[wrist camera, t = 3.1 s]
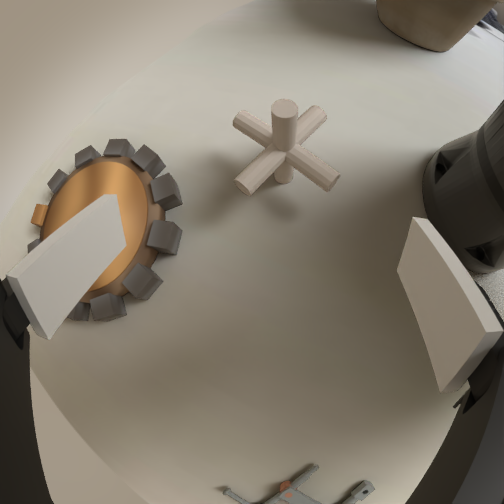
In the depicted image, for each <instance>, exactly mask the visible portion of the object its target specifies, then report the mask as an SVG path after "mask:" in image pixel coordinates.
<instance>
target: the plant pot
mask: <svg viewBox="0 0 504 504" xmlns="http://www.w3.org/2000/svg"><path fill="white" fill-rule="evenodd" d="M497 2H499V3H504V0H376V4H377V11H378V16H379V19H380V20H381V22H382V23H383V24H384V25H385V26H386V27H387V28H388V29H390V30H391V31H392V32H394V33H395V34H397V35H398V36H400V37H402V38H404V39H405V40H407V41H409V42H411V43H414V44H416V45H418V46H421V47H423V48H426V49H430V50H433V51H440V52H442V51H447V50H449V49H450V48H452V47H453V46H454V45H455V44H456V43H457V42H458V41H459V40H461V39H462V38H463V37H464V36H465V35H466V34H467V33H468V32H469V31H470V30H471V29H472V28H473V27H474V26H475V25H476V24H477V23H478V22H479V21H480V20H481V19H482V18H483V17H484V16H485V15H486V14H487V13H488V12H489V11H490V10H491V9H492V8H493V7H494V6H495V5H496V3H497Z"/></svg>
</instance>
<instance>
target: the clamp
mask: <svg viewBox="0 0 504 504" xmlns="http://www.w3.org/2000/svg"><path fill="white" fill-rule="evenodd" d="M318 468H319V466H318V465H316V464H315V465H314V466H313V467H312V468H311V469H310V470H308V471H306V472H304V473H303V474H302V475H300V476H299V477H298V478H297V479H296V480H294V481H293V482H291V481H285V482H283V483H281V485H280V492H279V493H277V494H276V495H275V496H273V497H272V498H271V499H269V500H268V501H266V502H265V503H263V504H276V503H277V502H278V501H280V500H281V499H283V500H285V501H287V502H288V503H290V504H321V503H319V502H318V501H316V500H314V499H312V498H310V497H308V496H307V495H305V494H303V493H301V492H300V491H298V490H297V487H298V486H300V485H301V484H302V483H303V482H305V481H306V480H307V479H308V478H310V476H311V475H312V473H314V472H315V471H316V470H317V469H318ZM374 490H375V488H374V487H373V485H372V484H371V483H370V482H368V481H364V482H362V483H361V484H360V485H359V486H358V487H357V488H356V489H354V490H353V491H352V492H351V494H352V495H351V496H350V497H349V498H348V499H347V500H345V501H344V502H343V503H342V504H354V503H355V502H357V501H358V500H361V501H362V500H363V499H364V498H366V497H367V496H368V495H369V494H370V493H371V492H373V491H374ZM223 495H229V496H230V497H232V498H233V499H235V500H236V501H238V502H240V503H241V504H250V503H248V502H247V501H245V500H244V499H242V498H240V497H239V496H237V495H236V494H234V493H232V492H231V491H230V488H226V489H225V490H224V491H223ZM260 504H261V503H260Z"/></svg>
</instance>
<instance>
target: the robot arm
mask: <svg viewBox="0 0 504 504" xmlns="http://www.w3.org/2000/svg"><path fill="white" fill-rule="evenodd" d="M423 198H424V204H425V208H426V212H427V215H428V218H429V220H428V219H424V218H417V217H412V221H411V225H410V229H409V232H408V236H407V239H406V242H405V246H404V249H403V252H402V255H401V259H400V262H399V265H398V268H397V273H398V275H399V277H400V280H401V282H402V284H403V287H404V289H405V291H406V294H407V296H408V299H409V301H410V304H411V306H412V309H413V312H414V314H415V317H416V319H417V322H418V325H419V328H420V330H421V333H422V336H423V339H424V342H425V345H426V348H427V351H428V354H429V357H430V360H431V363H432V367H433V370H434V373H435V377H436V380H437V384H438V387H439V391H440V393H446V392H453V391H458V390H459V389H460V388H461V387H462V385H463V384H464V383H465V382H466V381H467V380H468V382H469V385H470V388H469V389H468V391H467V392H466V393H465V394H464V395H463V396H462V397H461V398H460V399H459V400H458V401H457V402H456V403H455V405H454V406H453V408H456V407H457V406H458V405H459V404H461V405H460V407H459V410H458V412H457V414H456V417H455V419H454V421H453V423H452V425H451V427H450V430H449V432H448V434H447V436H446V438H445V440H444V442H443V443H442V445H441V447H440V449H439V451H438V453H437V455H436V456H435V458H434V460H433V462H432V463H431V465H430V467H429V468H428V470H427V472H426V473H425V475H424V477H423V478H422V480H421V481H420V483H419V484H418V486H417V487H416V489H415V490H414V492H413V493H412V495H411V496H410V498H409V499H408V500H407V502H406V503H405V504H504V322H503V320H502V318H501V317H500V315H499V313H498V311H497V310H496V309H495V306H494V305H493V303H492V302H491V301H490V298H489V297H488V295H487V294H486V292H485V291H484V289H483V288H482V287H481V286H480V285H479V284H477V283H476V282H475V281H474V280H473V279H472V277H471V276H470V275H469V273H468V272H467V270H466V269H468V270H471V271H473V272H477V273H490V272H494V271H497V270H500V269H503V268H504V100H503V101H502V103H501V104H500V105H499V106H498V108H497V109H496V110H495V111H494V112H493V114H492V115H491V116H490V117H489V118H488V120H487V121H486V122H485V123H484V124H483V126H482V127H481V128H480V129H479V130H478V131H475V132H473V133H470V134H468V135H466V136H463V137H461V138H458V139H456V140H454V141H451V142H449V143H447V144H445V145H444V146H443V147H441V148H440V149H439V150H438V151H437V153H436V154H435V155H434V156H433V157H432V159H431V160H430V161H429V163H428V165H427V167H426V170H425V173H424V178H423ZM429 221H430V222H429ZM126 246H127V245H126V241H125V236H124V231H123V226H122V221H121V216H120V210H119V205H118V199H117V194H104V195H102V196H101V197H100V198H98V199H97V200H95V201H94V202H93V203H91V204H90V205H88V206H87V207H86V208H84V209H83V210H82V211H80V212H79V213H78V214H76V215H75V216H74V217H72V218H71V219H70V220H68V221H67V222H66V223H65V224H63V225H62V226H61V227H60V228H58V229H57V230H56V231H55V232H53V233H52V234H51V235H50V236H48V237H47V238H46V239H45V240H44V241H42V242H41V243H40V244H39V245H38V246H37V247H35V248H34V249H33V250H32V251H31V252H30V253H29V254H27V255H26V256H25V257H24V258H23V259H22V260H21V261H20V262H19V263H18V264H17V265H15V266H14V267H13V268H12V269H11V270H10V271H9V272H8V273H7V274H6V278H5V279H4V280H3V281H1V279H0V504H54V503H53V501H52V499H51V497H50V494H49V491H48V487H47V484H46V480H45V476H44V472H43V468H42V464H41V459H40V455H39V450H38V445H37V439H36V433H35V427H34V418H33V410H32V400H31V388H30V359H29V349H30V335H29V332H28V330H27V329H26V328H27V326H28V325H29V324H31V326H32V327H33V329H34V331H35V332H36V334H37V335H39V336H41V337H43V338H46V339H48V340H50V339H51V337H52V336H53V334H54V333H55V332H56V330H57V329H58V328H59V326H60V325H61V324H62V322H63V321H64V320H65V318H66V317H67V316H68V314H69V313H70V312H71V311H72V309H73V308H74V307H75V305H76V304H77V303H78V302H79V300H80V299H81V298H82V297H83V295H84V294H85V293H86V292H87V291H88V289H89V288H90V287H91V286H92V285H93V283H94V282H95V281H96V280H97V279H98V277H99V276H100V275H101V274H102V273H103V272H104V270H105V269H106V268H107V267H108V266H109V265H110V263H111V262H112V261H113V260H114V259H115V258H116V257H117V256H118V254H119V253H120V252H121V251H122V250H123V249H124V248H125V247H126ZM465 268H466V269H465Z"/></svg>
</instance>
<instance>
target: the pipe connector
mask: <svg viewBox="0 0 504 504" xmlns="http://www.w3.org/2000/svg"><path fill="white" fill-rule="evenodd" d="M271 115H272V127H271V126H270V125H268V124H266V123H265V122H263V121H262V120H260V119H258V118H257V117H255V116H253V115H252V114H250V113H248V112H247V111H241V112H239V113H238V114H237V115H236V116H235V118H234V120H233V126H234V127H235V128H236V129H238V130H239V131H241V132H242V133H244V134H245V135H247V136H249V137H250V138H252V139H253V140H255V141H256V142H258V143H259V144H261V145H262V146H264V147H265V148H266V149H265V150H263V151H262V152H261V153H260V154H259V155H258V156H257V157H256V158H255V159H254V160H253V161H252V162H251V163H250V164H249V165H248V166H247V167H246V168H245V169H244V170H243V171H242V172H241V173H240V174H239V175H238V176H237V177H236V178H235V179H234V183H235V185H236V186H237V187H238V188H239V189H240V190H241V191H242V192H243V193H245V194H246V195H248V196H251V195H252V194H253V193H254V192H255V191H256V190H257V189H258V188H259V187H260V186H261V185H262V184H263V183H264V182H265V180H266V179H267V178H268V177H269V176H270V175H271V174H272V173H273V172H274V177H275V180H276V181H277V182H279V183H281V184H286V183H289V182H290V181H291V180H292V178H293V169H294V168H295V169H296V170H298V171H299V172H301V173H302V174H303V175H305V176H306V177H307V178H309V179H310V180H311V181H313V182H314V183H315V184H317V185H318V186H319V187H321V188H322V189H323V190H325V191H326V192H328V191H329V190H330V189H331V188H332V187H333V186H334V185H335V183H336V182H337V180H338V179H339V177H340V173H338V172H337V171H336V170H334V169H333V168H332V167H330V166H329V165H327V164H326V163H325V162H323V161H322V160H321V159H319V158H318V157H316V156H315V155H313V154H312V153H311V152H309V151H308V150H306V149H305V148H303V147H302V146H300V145H301V144H302V143H303V142H304V141H305V140H306V139H307V138H308V137H309V136H310V135H311V134H312V133H313V132H314V131H315V130H316V129H318V128H319V127H320V126H321V125H322V124H323V123H324V122H325V121H326V119H327V115H326V113H325V112H324V110H323V109H322V108H320V107H319V106H316V105H314V106H311V107H310V108H309V109H308V110H307V111H306V112H304V113H303V114H302V115H301V116H300V117H299V118H298V106H297V105H296V103H295V102H293V101H291V100H288V99H280V100H277V101H275V102H274V103H273V104H272V106H271ZM297 118H298V119H297Z"/></svg>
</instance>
